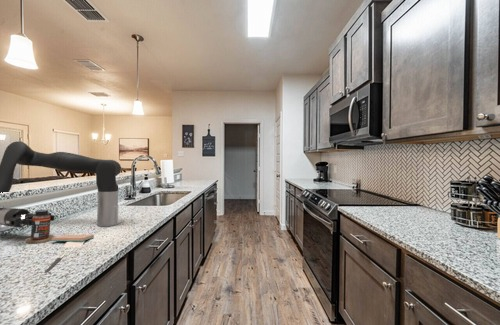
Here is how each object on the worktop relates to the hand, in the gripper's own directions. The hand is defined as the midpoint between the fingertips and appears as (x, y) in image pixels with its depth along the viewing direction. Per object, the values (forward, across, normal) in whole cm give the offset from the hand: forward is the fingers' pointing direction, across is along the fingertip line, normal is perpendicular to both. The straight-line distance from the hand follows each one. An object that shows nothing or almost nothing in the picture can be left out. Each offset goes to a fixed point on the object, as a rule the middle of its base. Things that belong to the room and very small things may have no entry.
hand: (43, 220), depth 106 cm
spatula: (+22, -10, +9) cm, 26 cm away
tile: (+5, +2, +7) cm, 9 cm away
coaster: (-2, 0, +8) cm, 8 cm away
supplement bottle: (-2, 0, +8) cm, 8 cm away
